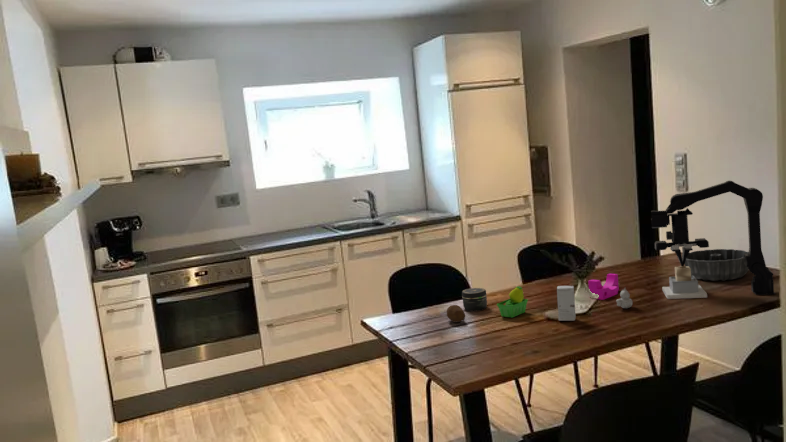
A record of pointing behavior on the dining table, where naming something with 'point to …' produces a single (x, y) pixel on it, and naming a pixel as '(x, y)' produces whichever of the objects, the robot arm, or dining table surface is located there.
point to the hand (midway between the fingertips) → (682, 265)
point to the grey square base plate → (684, 289)
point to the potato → (455, 313)
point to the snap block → (683, 273)
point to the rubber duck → (624, 299)
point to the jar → (474, 299)
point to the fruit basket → (513, 304)
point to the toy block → (605, 287)
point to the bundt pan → (717, 264)
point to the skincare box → (566, 303)
